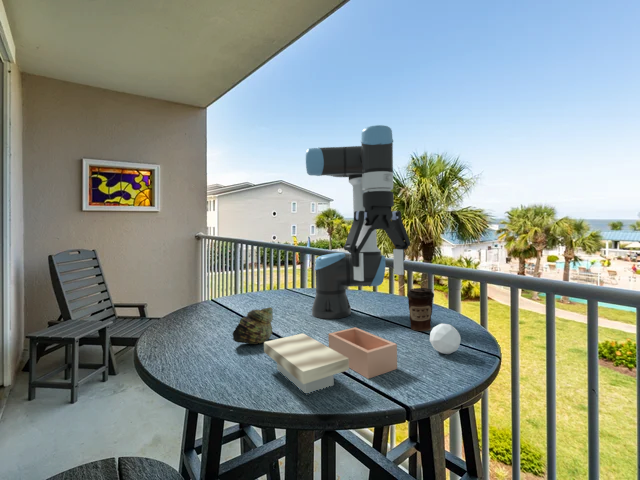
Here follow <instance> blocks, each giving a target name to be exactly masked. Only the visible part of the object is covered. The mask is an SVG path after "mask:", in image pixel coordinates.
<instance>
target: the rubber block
mask: <svg viewBox="0 0 640 480" xmlns="http://www.w3.org/2000/svg"><path fill="white" fill-rule="evenodd" d="M278 370H279V371H280V372H281V373H282V374H283V375H284V376H286V377H287V378H288V379H289V380H290V381H292V382H293V383H294V384H295V385H296V386H297V387H299V388H300V389H301V390H302V391H303V392H304V393H309V392H312V391H315V390H318V391H320V390H319V389H321V390H323V388H324V389H327V388H330V387H333V386H335V385H334V375H331V376H328V377H325V378H322V379H319V380H315V381H312V382H309V383H306V384H303V383H301V382H300V381H299V380H298V379H297V378H295V377H294V376H293V375H292V374H290V373H289V372H288V371H287V370H286V369H284V368H283V367H282V366H281V365H279V364H278V363H277V362H276V371H278ZM279 371H278V372H279ZM280 372H279V373H280ZM281 373H280V374H281ZM282 374H281V375H282ZM283 375H282V376H283ZM286 377H285V378H286ZM287 378H286V379H287ZM288 379H287V380H288ZM289 380H288V381H289ZM293 383H292V384H293ZM294 384H293V385H294ZM295 385H294V386H295ZM296 386H295V387H296ZM329 386H330V387H329ZM297 387H296V388H297ZM326 387H327V388H326ZM300 389H299V390H300ZM301 390H300V391H301ZM302 391H301V392H302ZM303 392H302V393H303ZM315 392H316V391H315ZM304 393H303V394H304ZM312 393H313V392H312ZM309 394H310V393H309Z"/></svg>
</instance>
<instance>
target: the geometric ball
mask: <svg viewBox="0 0 640 480" xmlns="http://www.w3.org/2000/svg"><path fill="white" fill-rule="evenodd" d="M461 341H462V340H461V335H460V332H459V331H458V330H457V329H456V328H455V327H454V326H453V325H452V324H448V323H439V324H437V325H436V326H435V325H434V327H432V328H431V330H430V334H429V342H430V344H431V346H432V347H433V349H434V350H435V351H437V352H439V353H440V354H445V355H450V354H452V353H455V352H457V351H458V349H459V347H460V344H461Z"/></svg>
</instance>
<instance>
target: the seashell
mask: <svg viewBox="0 0 640 480" xmlns="http://www.w3.org/2000/svg"><path fill="white" fill-rule="evenodd" d="M273 313H274V311H273V307H266V308H261V309H252V310H250V311H249V312H248V313H247V314H246V315H245V316H243V317H242V318H240V320H239V323H238V324H237V326H236V327H235V329H234V330H233V332H232V337H233V338H232V340H233V341H234V342H236V343H240V344H249V345H256V344H257V345H258V343H259V344H262V343H264V342H267V341H268V340H269V339H270V338H271V336H272V335H273V326H272V322H273V319H274V317H273Z"/></svg>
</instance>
